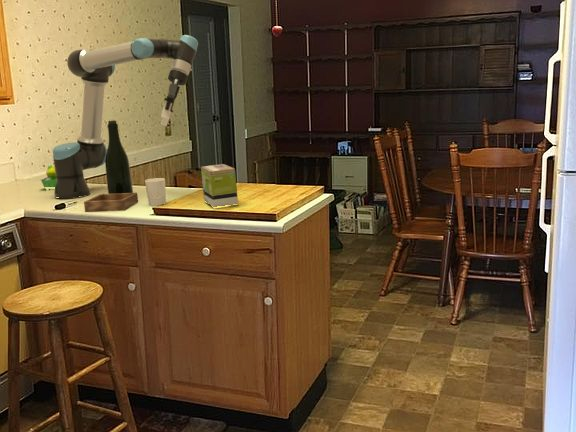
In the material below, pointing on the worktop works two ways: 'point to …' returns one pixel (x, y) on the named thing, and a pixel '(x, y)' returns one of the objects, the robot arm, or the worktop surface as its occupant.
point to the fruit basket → (50, 177)
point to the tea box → (219, 185)
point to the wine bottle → (117, 163)
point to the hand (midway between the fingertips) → (163, 121)
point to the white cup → (156, 191)
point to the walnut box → (111, 202)
